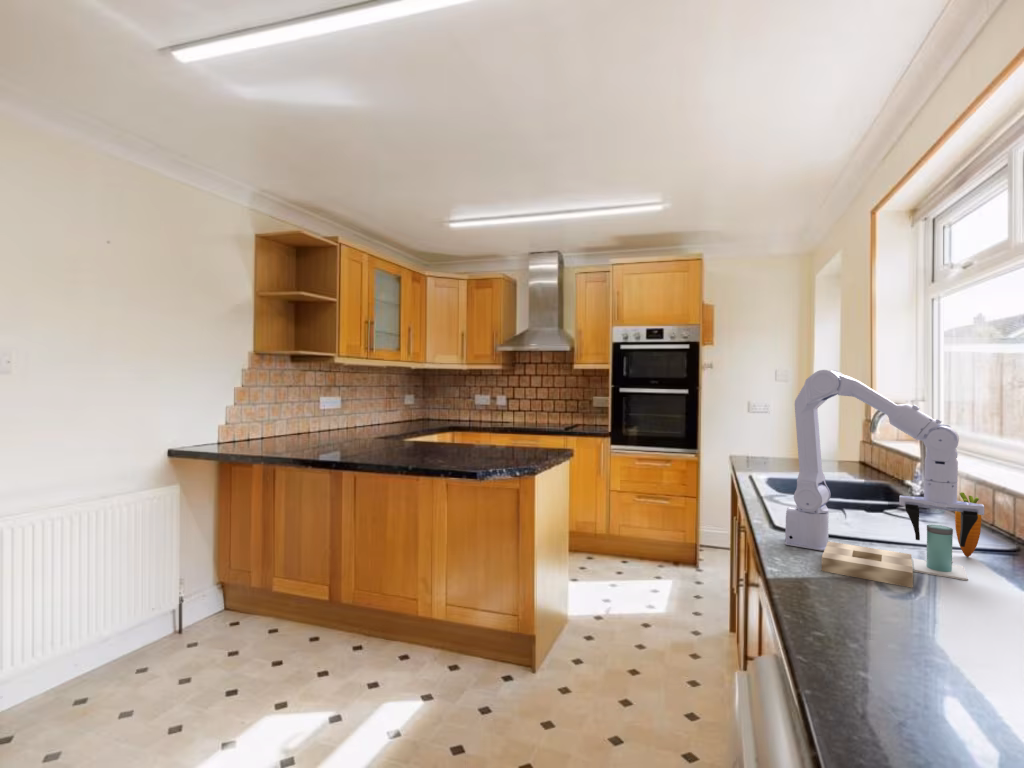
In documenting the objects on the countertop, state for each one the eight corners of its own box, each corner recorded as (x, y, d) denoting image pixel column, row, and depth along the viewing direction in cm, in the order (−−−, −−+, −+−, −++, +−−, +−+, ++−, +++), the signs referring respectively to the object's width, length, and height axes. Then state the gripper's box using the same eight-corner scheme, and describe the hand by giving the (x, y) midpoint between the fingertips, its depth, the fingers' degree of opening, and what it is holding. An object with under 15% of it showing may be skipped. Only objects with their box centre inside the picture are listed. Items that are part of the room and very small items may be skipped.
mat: (914, 571, 118) (914, 569, 118) (913, 560, 125) (913, 558, 125) (968, 580, 113) (968, 578, 113) (963, 568, 120) (963, 566, 120)
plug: (926, 568, 118) (926, 527, 118) (926, 563, 122) (926, 523, 122) (952, 573, 116) (953, 531, 116) (951, 567, 119) (952, 526, 119)
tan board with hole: (821, 570, 118) (821, 557, 118) (827, 553, 129) (828, 541, 129) (912, 587, 109) (912, 572, 109) (911, 567, 120) (911, 554, 120)
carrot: (986, 561, 125) (987, 496, 125) (961, 559, 126) (962, 495, 126) (972, 554, 130) (973, 491, 129) (948, 552, 131) (950, 490, 130)
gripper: (900, 479, 120) (898, 540, 120) (986, 487, 111) (985, 553, 111) (899, 474, 125) (898, 533, 126) (982, 482, 117) (981, 544, 117)
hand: (939, 542), depth 119 cm, fingers open, 7 cm apart
